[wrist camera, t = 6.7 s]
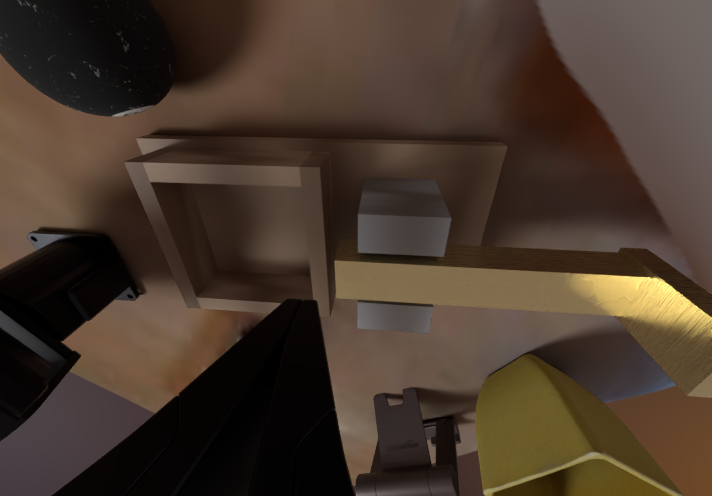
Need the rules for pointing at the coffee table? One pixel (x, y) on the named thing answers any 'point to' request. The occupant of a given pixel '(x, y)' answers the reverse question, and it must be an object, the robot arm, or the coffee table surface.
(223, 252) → the dock
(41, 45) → the billiard ball
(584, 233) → the coffee table surface
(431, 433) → the portable electronic device stand
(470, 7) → the coffee table surface
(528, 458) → the flower pot
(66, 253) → the robot arm
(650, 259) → the beige wooden bar
